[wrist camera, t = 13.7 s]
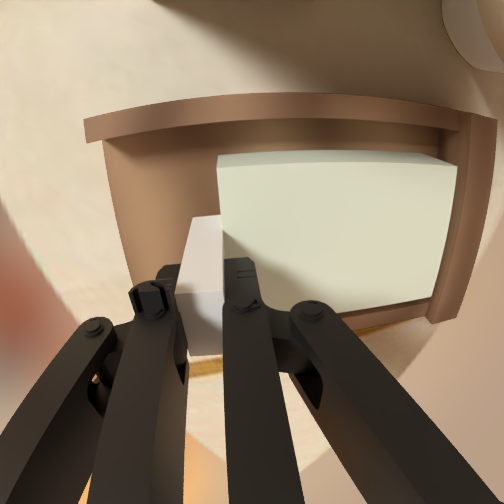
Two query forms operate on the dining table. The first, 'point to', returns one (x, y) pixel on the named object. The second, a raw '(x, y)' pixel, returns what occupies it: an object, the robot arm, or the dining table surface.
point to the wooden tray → (286, 139)
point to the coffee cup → (477, 31)
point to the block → (337, 224)
